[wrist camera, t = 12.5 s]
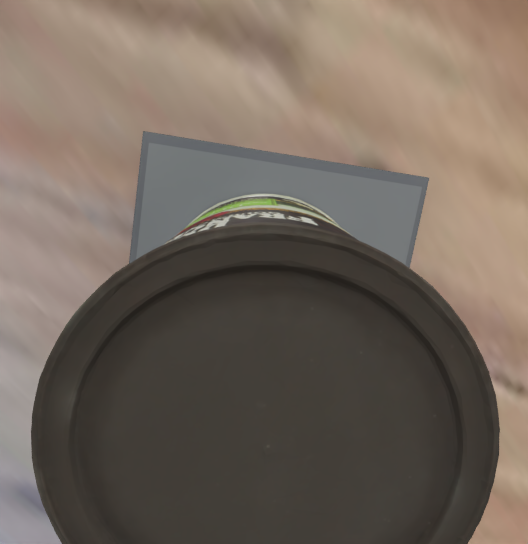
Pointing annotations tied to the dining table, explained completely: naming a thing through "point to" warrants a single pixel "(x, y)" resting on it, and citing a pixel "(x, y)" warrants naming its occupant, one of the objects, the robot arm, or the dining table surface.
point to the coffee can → (265, 395)
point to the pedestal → (270, 191)
